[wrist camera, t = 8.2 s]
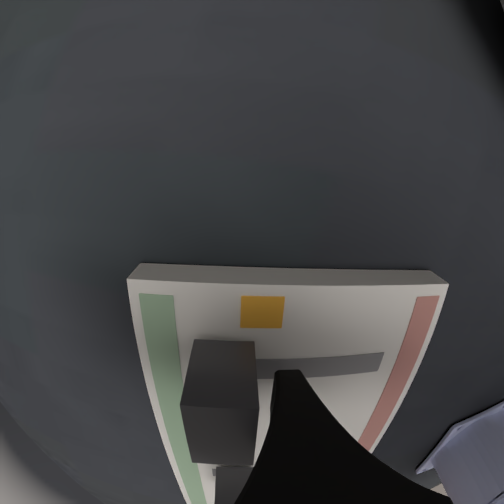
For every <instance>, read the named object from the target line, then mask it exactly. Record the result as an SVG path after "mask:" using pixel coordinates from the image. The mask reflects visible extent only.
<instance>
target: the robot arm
mask: <svg viewBox="0 0 504 504" xmlns="http://www.w3.org/2000/svg"><path fill="white" fill-rule="evenodd" d="M432 468H435V470H436V472H437V474H438V476H439V478H440V480H441V482H442V484H443V486H444V488H445V491H446V493H447V495H448V496H445V495H442V494H440V493H437V492H435V491H432V490H430V489H427V488H425V487H423V486H421V485H419V484H417V483H415V482H413V481H411V480H409V479H407V478H406V477H404V476H402V475H401V474H399V473H398V472H396V471H395V470H393V469H392V468H390V467H389V466H387V465H386V464H384V463H383V462H381V461H380V460H379V459H377V458H376V457H375V456H374V455H372V454H371V453H370V452H369V451H368V450H366V449H365V448H364V447H363V446H362V445H361V444H360V443H359V442H357V441H356V440H355V439H354V438H353V437H352V436H351V435H350V434H349V433H348V432H347V431H346V429H345V428H344V427H343V426H342V425H341V424H340V423H339V422H338V421H337V419H336V418H335V417H334V416H333V415H332V414H331V412H330V411H329V410H328V409H327V407H326V406H325V405H324V404H323V402H322V401H321V400H320V398H319V397H318V395H317V394H316V393H315V391H314V390H313V388H312V387H311V385H310V384H309V382H308V381H307V379H306V378H305V376H304V375H303V373H302V372H301V371H300V370H299V369H294V370H277V371H276V372H275V373H274V381H273V388H272V395H271V403H270V424H269V427H268V431H267V434H266V437H265V440H264V443H263V446H262V448H261V451H260V454H259V456H258V458H257V461H256V463H255V465H254V467H253V470H252V472H251V474H250V476H249V478H248V480H247V482H246V484H245V486H244V487H243V489H242V491H241V493H240V494H239V496H238V498H237V499H236V501H235V503H234V504H504V401H503V402H501V403H499V404H497V405H495V406H493V407H492V408H490V409H488V410H485V411H483V412H481V413H479V414H477V415H475V416H473V417H471V418H468V419H466V420H464V421H461V422H459V423H457V424H455V425H453V426H452V427H451V428H450V429H449V431H448V432H447V433H446V435H445V436H444V437H443V439H442V440H441V441H440V442H439V444H438V445H437V446H436V447H435V449H434V450H433V451H432V452H431V453H430V455H429V456H428V457H427V458H426V459H425V461H424V462H423V463H422V464H421V465H420V466H419V467H418V468H417V469H416V471H415V472H416V474H419V473H422V472H424V471H427V470H429V469H432Z"/></svg>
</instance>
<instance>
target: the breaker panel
mask: <svg viewBox="0 0 504 504" xmlns="http://www.w3.org/2000/svg"><path fill="white" fill-rule="evenodd" d="M127 286H128V293H129V300H130V307H131V313H132V319H133V325H134V330H135V336H136V341H137V346H138V351H139V356H140V360H141V365H142V369H143V373H144V377H145V382H146V386H147V389H148V393H149V397H150V401H151V404H152V408H153V411H154V415H155V418H156V422H157V425H158V428H159V431H160V434H161V437H162V441H163V444H164V446H165V449H166V452H167V455H168V458H169V461H170V463H171V466H172V469H173V471H174V474H175V477H176V479H177V482H178V484H179V486H180V489H181V491H182V494H183V496H184V498H185V501H186V503H187V504H214V503H215V479H216V466H217V467H254V465H255V463H256V461H257V458H258V456H259V454H260V451H261V448H262V446H263V443H264V440H265V437H266V434H267V431H268V427H269V424H270V403H271V395H272V388H273V381H274V373H275V372H276V371H277V370H294V369H299V370H300V371H301V372H302V373H303V375H304V376H305V378H306V379H307V381H308V382H309V384H310V385H311V387H312V388H313V390H314V391H315V393H316V394H317V395H318V397H319V398H320V400H321V401H322V402H323V404H324V405H325V406H326V407H327V409H328V410H329V411H330V412H331V414H332V415H333V416H334V417H335V418H336V419H337V421H338V422H339V423H340V424H341V425H342V426H343V427H344V428H345V429H346V431H347V432H348V433H349V434H350V435H351V436H352V437H353V438H354V439H355V440H356V441H357V442H359V443H360V444H361V445H362V446H363V447H364V448H365V449H366V450H368V451H369V452H370V453H371V454H372V452H373V451H374V449H375V447H376V446H377V444H378V443H379V441H380V440H381V438H382V436H383V435H384V433H385V431H386V430H387V428H388V426H389V425H390V423H391V421H392V419H393V418H394V416H395V414H396V412H397V411H398V409H399V407H400V405H401V403H402V401H403V399H404V397H405V395H406V393H407V391H408V389H409V387H410V385H411V383H412V381H413V379H414V377H415V375H416V373H417V370H418V368H419V366H420V364H421V361H422V359H423V357H424V354H425V352H426V349H427V347H428V344H429V342H430V339H431V337H432V334H433V331H434V329H435V326H436V323H437V320H438V317H439V315H440V312H441V309H442V305H443V302H444V299H445V296H446V292H447V289H448V286H449V283H447V282H446V281H444V280H443V279H442V278H440V277H439V276H437V275H436V274H435V273H433V272H432V271H430V270H359V269H306V268H267V267H233V266H204V265H178V264H154V263H140V264H139V265H138V266H137V267H136V269H135V270H134V271H133V272H132V273H131V274H130V275H129V277H128V278H127ZM194 339H203V340H225V341H254V343H255V356H256V369H257V382H258V395H259V407H260V410H259V419H258V428H257V437H256V446H255V455H254V463H253V465H217V464H202V463H192V461H191V457H190V452H189V448H188V444H187V439H186V435H185V430H184V425H183V420H182V415H181V410H180V401H181V396H182V391H183V387H184V382H185V377H186V373H187V368H188V364H189V359H190V355H191V350H192V346H193V342H194Z"/></svg>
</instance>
